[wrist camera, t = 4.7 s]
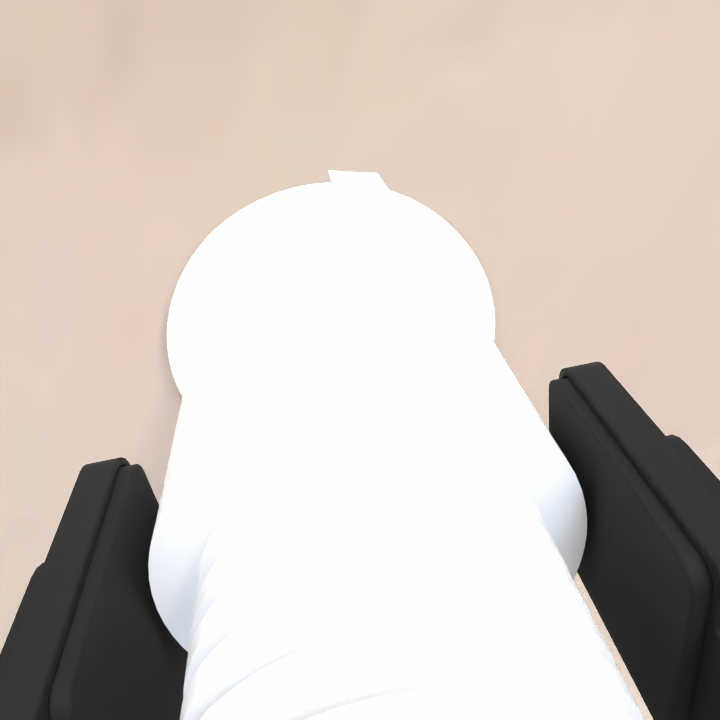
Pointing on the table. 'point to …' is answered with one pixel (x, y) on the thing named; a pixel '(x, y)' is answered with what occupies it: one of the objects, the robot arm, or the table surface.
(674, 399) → the table surface
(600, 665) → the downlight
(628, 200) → the table surface
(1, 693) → the robot arm
